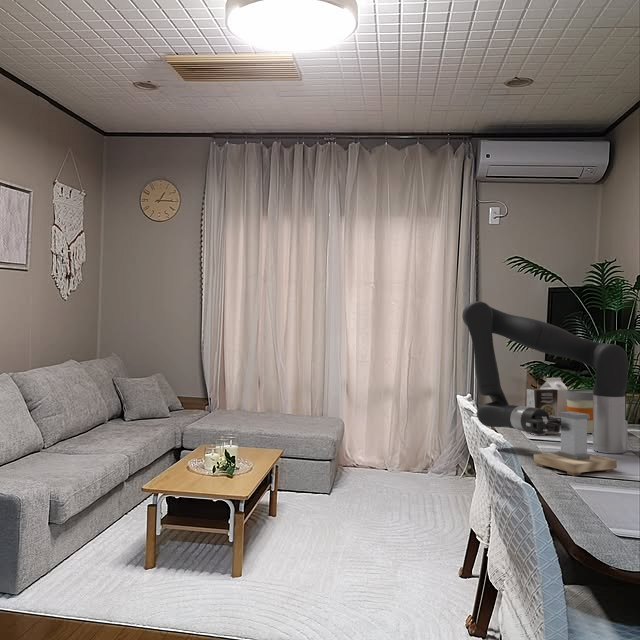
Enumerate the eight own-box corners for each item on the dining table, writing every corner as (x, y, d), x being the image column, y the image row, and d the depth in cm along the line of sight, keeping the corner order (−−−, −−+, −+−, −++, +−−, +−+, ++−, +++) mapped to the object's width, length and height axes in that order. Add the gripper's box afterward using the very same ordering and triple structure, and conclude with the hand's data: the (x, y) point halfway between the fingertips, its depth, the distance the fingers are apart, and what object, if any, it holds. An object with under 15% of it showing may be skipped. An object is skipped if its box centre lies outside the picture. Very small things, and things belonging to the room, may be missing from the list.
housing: (570, 454, 191) (570, 411, 191) (589, 458, 185) (589, 414, 185) (558, 455, 189) (558, 412, 190) (577, 460, 183) (577, 415, 183)
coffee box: (535, 435, 242) (535, 389, 242) (525, 432, 248) (525, 388, 249) (558, 434, 245) (558, 389, 245) (547, 431, 251) (547, 387, 251)
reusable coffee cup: (565, 433, 247) (565, 391, 247) (565, 428, 259) (565, 388, 259) (603, 435, 243) (603, 393, 243) (601, 430, 255) (601, 390, 255)
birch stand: (574, 461, 197) (574, 450, 197) (616, 471, 183) (616, 460, 183) (533, 465, 191) (533, 454, 191) (574, 476, 177) (574, 464, 177)
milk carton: (539, 427, 262) (539, 377, 262) (554, 426, 265) (554, 376, 265) (553, 429, 256) (553, 378, 256) (567, 428, 259) (567, 378, 259)
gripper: (510, 408, 200) (550, 415, 185) (548, 406, 206) (590, 412, 191) (510, 434, 200) (550, 442, 185) (548, 431, 206) (590, 439, 191)
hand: (570, 427), depth 188 cm, fingers open, 8 cm apart
